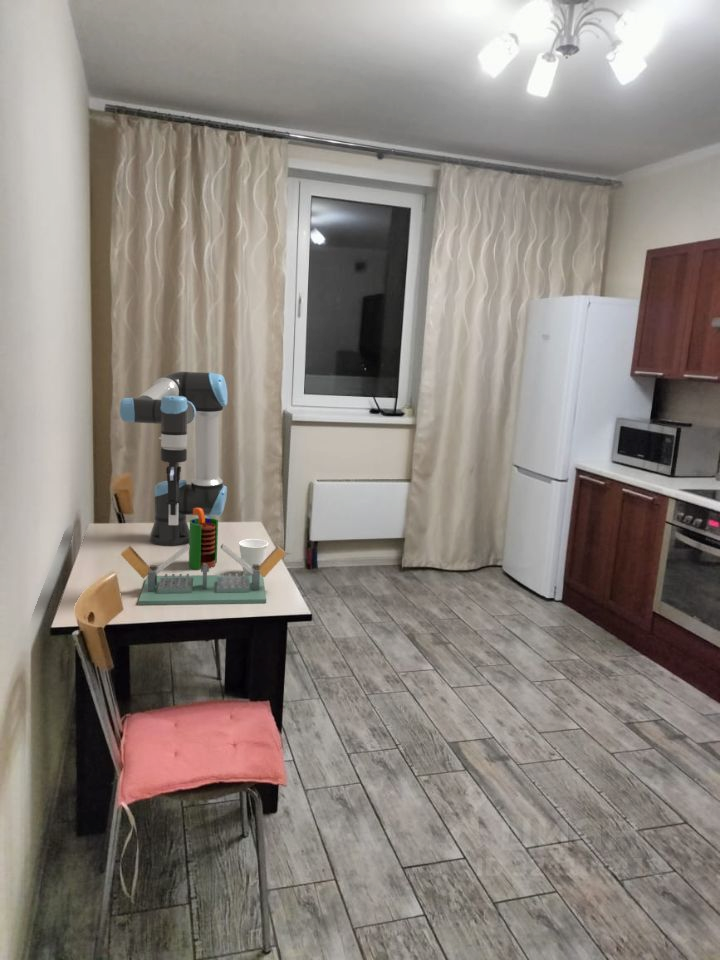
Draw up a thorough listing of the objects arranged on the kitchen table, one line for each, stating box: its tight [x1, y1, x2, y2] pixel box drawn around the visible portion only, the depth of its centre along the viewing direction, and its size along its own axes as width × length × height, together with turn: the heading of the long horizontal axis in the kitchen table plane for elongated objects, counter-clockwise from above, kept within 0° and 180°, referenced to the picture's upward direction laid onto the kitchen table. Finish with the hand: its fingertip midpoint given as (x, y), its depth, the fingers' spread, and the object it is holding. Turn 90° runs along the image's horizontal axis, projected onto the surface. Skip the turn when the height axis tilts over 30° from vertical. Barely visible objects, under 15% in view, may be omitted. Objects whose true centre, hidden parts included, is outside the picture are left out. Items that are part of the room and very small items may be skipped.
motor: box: [188, 508, 219, 571], centre depth 239 cm, size 10×9×20 cm
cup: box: [238, 538, 269, 575], centre depth 233 cm, size 10×10×11 cm
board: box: [138, 574, 267, 606], centre depth 217 cm, size 22×37×1 cm, turn 101°
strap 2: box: [220, 543, 286, 578], centre depth 217 cm, size 16×3×12 cm
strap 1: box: [120, 543, 190, 579], centre depth 211 cm, size 16×3×12 cm
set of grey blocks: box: [147, 563, 260, 594], centre depth 216 cm, size 10×33×7 cm, turn 101°
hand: (173, 524), depth 212 cm, fingers closed
